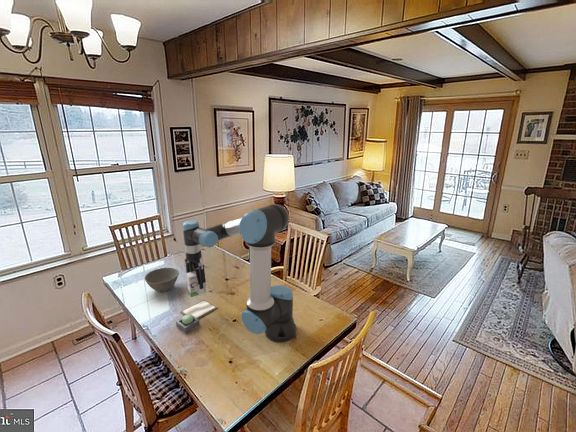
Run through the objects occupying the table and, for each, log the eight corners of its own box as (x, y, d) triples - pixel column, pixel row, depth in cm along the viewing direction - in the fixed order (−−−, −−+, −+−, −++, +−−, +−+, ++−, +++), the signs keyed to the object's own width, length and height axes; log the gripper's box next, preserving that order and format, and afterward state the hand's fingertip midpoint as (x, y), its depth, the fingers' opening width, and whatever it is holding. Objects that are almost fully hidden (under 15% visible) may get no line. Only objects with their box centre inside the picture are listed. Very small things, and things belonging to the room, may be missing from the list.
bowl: (139, 295, 173) (137, 280, 170) (160, 280, 191) (158, 265, 188) (168, 300, 169) (165, 284, 166) (186, 283, 186) (184, 269, 183)
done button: (195, 322, 147) (194, 317, 147) (186, 327, 144) (185, 322, 143) (189, 318, 150) (188, 313, 150) (180, 323, 147) (179, 318, 146)
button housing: (199, 325, 148) (199, 320, 147) (185, 333, 142) (184, 328, 141) (190, 318, 153) (190, 313, 152) (176, 326, 147) (175, 321, 146)
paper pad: (217, 308, 162) (217, 307, 161) (193, 321, 150) (193, 320, 150) (204, 300, 169) (204, 299, 169) (180, 312, 158) (180, 311, 157)
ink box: (190, 297, 152) (188, 277, 149) (187, 293, 156) (185, 273, 153) (206, 292, 157) (205, 272, 153) (203, 288, 161) (201, 268, 157)
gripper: (211, 253, 146) (214, 294, 153) (189, 244, 158) (192, 282, 165) (198, 258, 141) (202, 301, 148) (176, 248, 152) (180, 288, 159)
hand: (197, 291), depth 156 cm, fingers closed on ink box, 6 cm apart
